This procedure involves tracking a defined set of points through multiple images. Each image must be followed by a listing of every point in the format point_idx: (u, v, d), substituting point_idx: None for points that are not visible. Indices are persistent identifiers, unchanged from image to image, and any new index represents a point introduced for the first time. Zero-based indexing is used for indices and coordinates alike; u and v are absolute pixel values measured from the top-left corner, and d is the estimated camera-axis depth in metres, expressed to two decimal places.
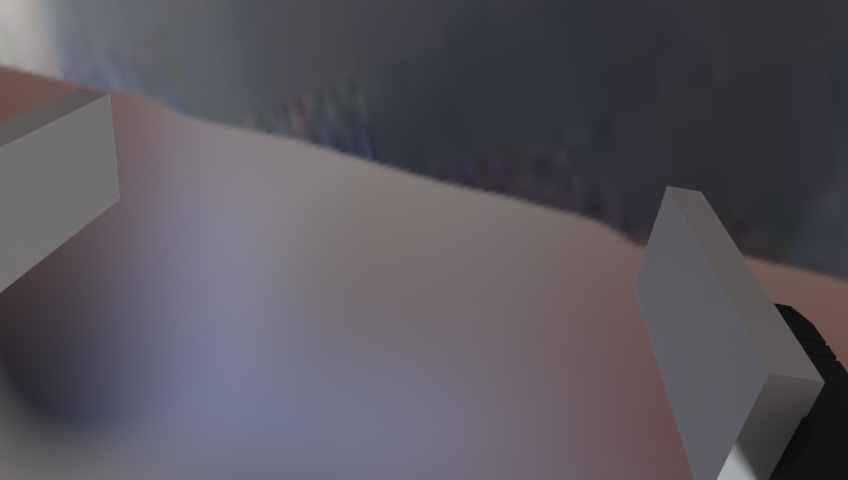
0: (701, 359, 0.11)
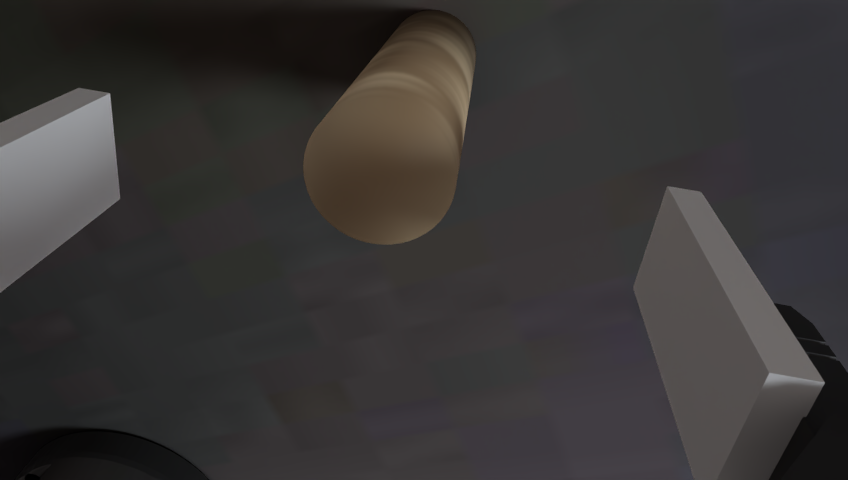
0: (701, 359, 0.11)
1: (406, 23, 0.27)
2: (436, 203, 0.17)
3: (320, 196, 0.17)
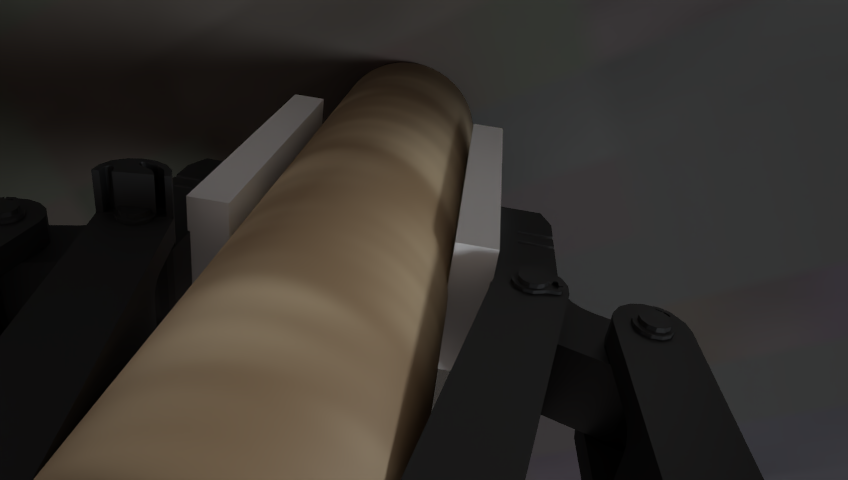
0: None
1: (358, 91, 0.17)
2: None
3: None
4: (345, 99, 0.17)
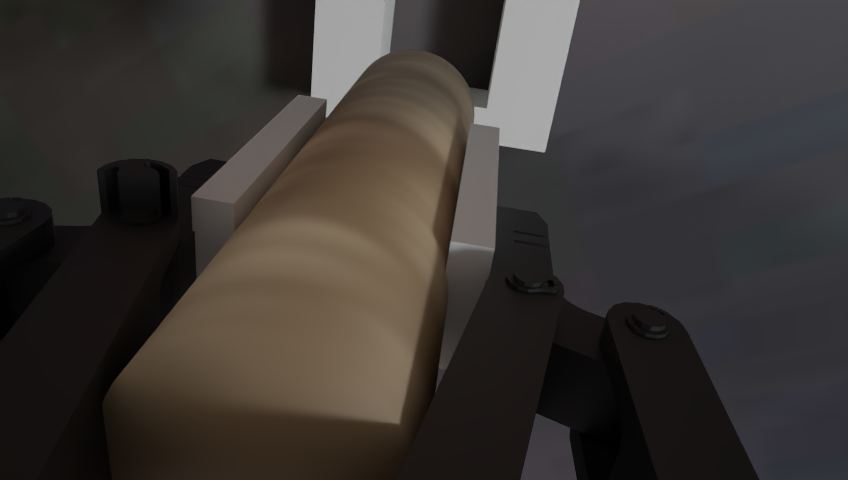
0: None
1: (369, 74, 0.18)
2: None
3: None
4: (357, 82, 0.18)
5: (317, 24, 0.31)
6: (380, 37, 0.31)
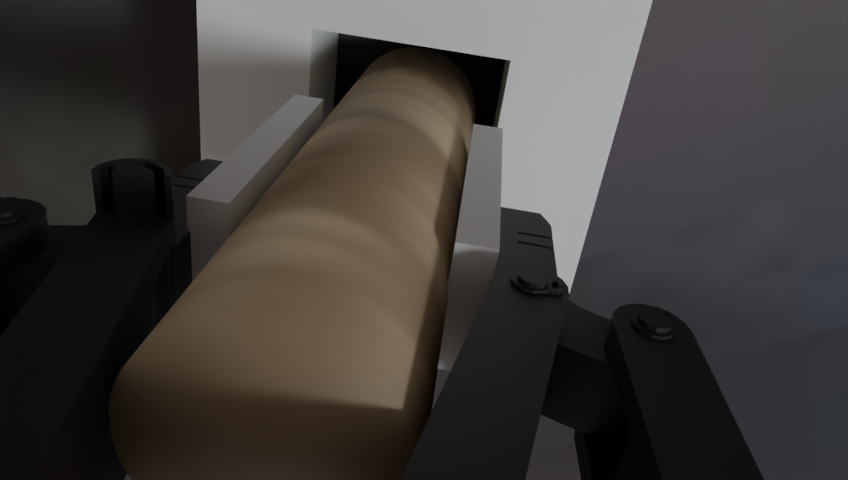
0: None
1: (372, 71, 0.18)
2: None
3: None
4: (360, 79, 0.19)
5: (204, 108, 0.19)
6: None
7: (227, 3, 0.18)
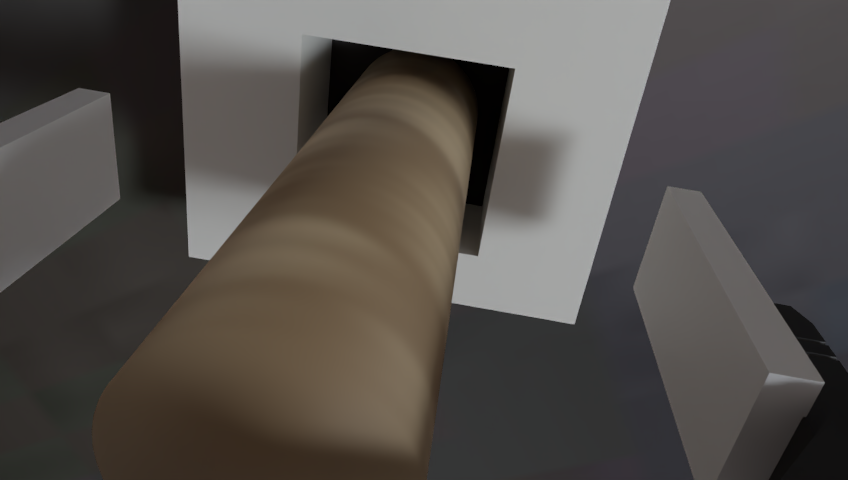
0: (701, 359, 0.11)
1: (372, 71, 0.18)
2: None
3: None
4: (360, 79, 0.18)
5: (187, 118, 0.18)
6: (295, 141, 0.18)
7: (211, 7, 0.17)
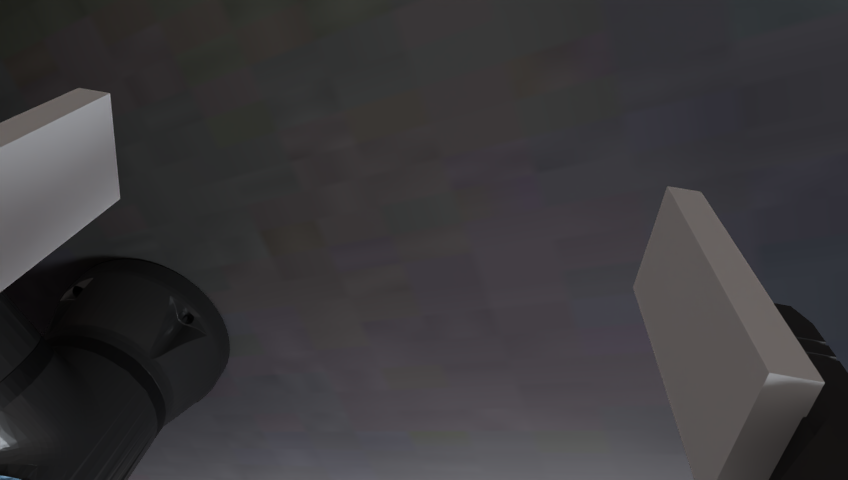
0: (701, 359, 0.11)
1: None
2: None
3: None
4: None
5: None
6: None
7: None
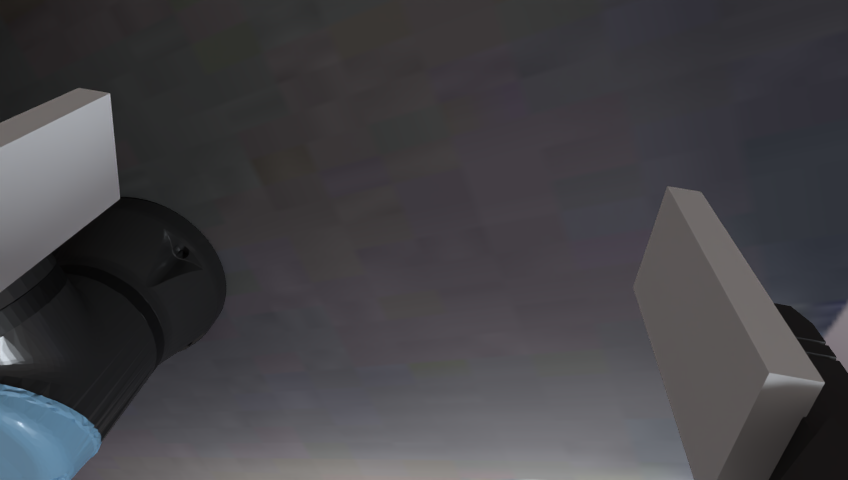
0: (701, 359, 0.11)
1: None
2: None
3: None
4: None
5: None
6: None
7: None
